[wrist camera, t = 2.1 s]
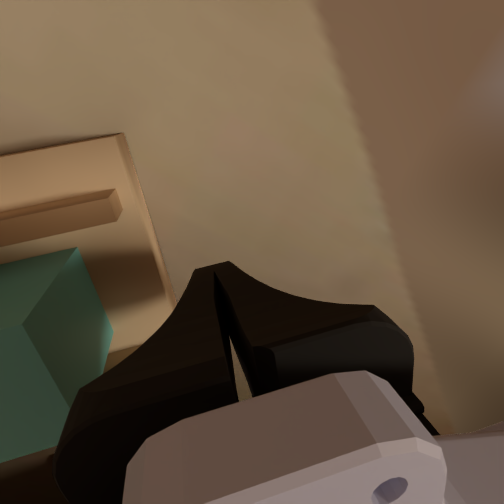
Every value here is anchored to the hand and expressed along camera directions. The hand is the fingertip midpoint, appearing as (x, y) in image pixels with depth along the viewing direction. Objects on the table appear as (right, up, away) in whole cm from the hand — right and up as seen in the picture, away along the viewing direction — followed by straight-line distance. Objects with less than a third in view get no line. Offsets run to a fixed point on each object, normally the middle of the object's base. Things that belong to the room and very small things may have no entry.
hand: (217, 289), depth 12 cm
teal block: (-7, -1, +1) cm, 8 cm away
